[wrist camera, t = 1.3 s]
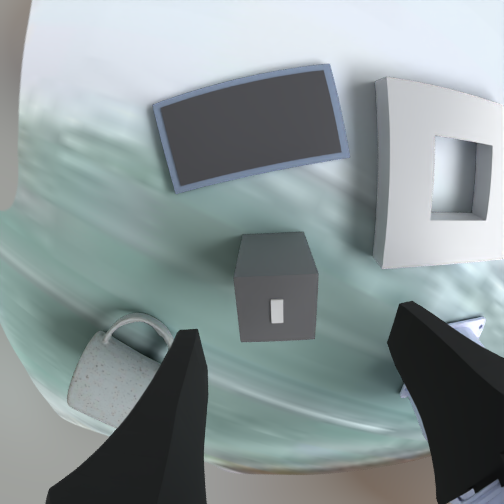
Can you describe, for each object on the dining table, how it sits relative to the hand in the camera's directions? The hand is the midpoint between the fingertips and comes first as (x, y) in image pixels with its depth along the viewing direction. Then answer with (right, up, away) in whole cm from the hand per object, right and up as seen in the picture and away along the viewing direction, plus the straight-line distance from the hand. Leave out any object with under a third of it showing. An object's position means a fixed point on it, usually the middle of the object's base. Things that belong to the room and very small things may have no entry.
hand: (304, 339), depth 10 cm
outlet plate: (+12, +8, +7) cm, 16 cm away
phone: (-2, +11, +7) cm, 13 cm away
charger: (0, +2, +10) cm, 11 cm away
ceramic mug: (-12, -6, +15) cm, 20 cm away
